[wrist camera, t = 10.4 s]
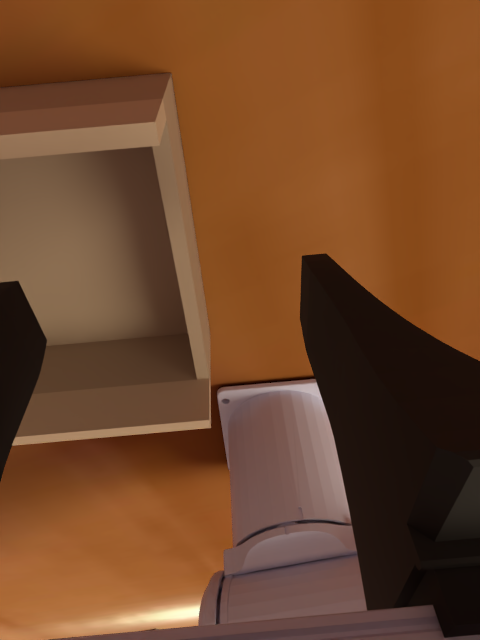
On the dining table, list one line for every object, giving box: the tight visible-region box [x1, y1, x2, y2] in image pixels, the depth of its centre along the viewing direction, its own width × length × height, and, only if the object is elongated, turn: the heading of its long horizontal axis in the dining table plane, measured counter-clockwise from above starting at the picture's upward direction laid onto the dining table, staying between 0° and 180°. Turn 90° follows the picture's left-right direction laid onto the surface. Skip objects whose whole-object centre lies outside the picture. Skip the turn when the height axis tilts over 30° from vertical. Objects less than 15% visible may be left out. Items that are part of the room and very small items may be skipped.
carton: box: [0, 73, 211, 446], centre depth 18 cm, size 13×12×6 cm
